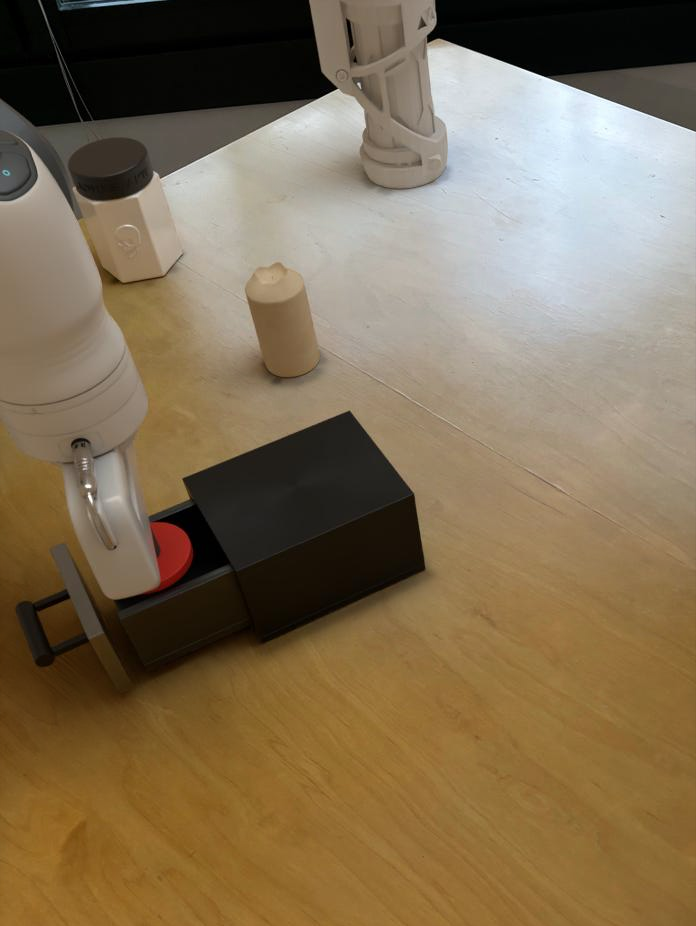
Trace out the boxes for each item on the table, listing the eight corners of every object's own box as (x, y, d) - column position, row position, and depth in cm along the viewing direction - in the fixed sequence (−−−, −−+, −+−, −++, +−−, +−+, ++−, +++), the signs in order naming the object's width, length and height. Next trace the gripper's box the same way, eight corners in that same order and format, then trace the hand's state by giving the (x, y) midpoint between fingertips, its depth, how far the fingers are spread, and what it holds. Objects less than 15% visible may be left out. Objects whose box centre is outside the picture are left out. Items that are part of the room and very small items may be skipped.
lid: (110, 605, 78) (92, 570, 75) (100, 543, 82) (82, 508, 79) (200, 579, 79) (185, 543, 76) (186, 519, 83) (171, 483, 80)
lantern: (447, 141, 131) (425, -95, 111) (452, 185, 125) (430, -57, 105) (341, 152, 131) (301, -82, 112) (341, 197, 125) (298, -43, 105)
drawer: (65, 719, 80) (29, 664, 74) (30, 627, 86) (-6, 570, 80) (283, 620, 84) (264, 562, 79) (235, 539, 90) (214, 479, 85)
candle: (255, 372, 106) (230, 283, 98) (281, 339, 109) (259, 250, 101) (304, 382, 104) (283, 293, 96) (329, 348, 107) (311, 259, 99)
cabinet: (262, 644, 84) (235, 571, 77) (210, 552, 91) (181, 478, 84) (426, 569, 88) (414, 493, 81) (365, 486, 94) (349, 409, 88)
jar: (102, 289, 116) (61, 183, 107) (103, 248, 121) (63, 144, 112) (184, 274, 117) (151, 168, 107) (182, 234, 122) (149, 130, 112)
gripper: (142, 489, 62) (206, 636, 73) (103, 298, 75) (163, 449, 85) (32, 519, 61) (114, 664, 72) (12, 321, 74) (84, 470, 84)
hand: (140, 546), depth 79 cm, fingers closed on lid, 2 cm apart
